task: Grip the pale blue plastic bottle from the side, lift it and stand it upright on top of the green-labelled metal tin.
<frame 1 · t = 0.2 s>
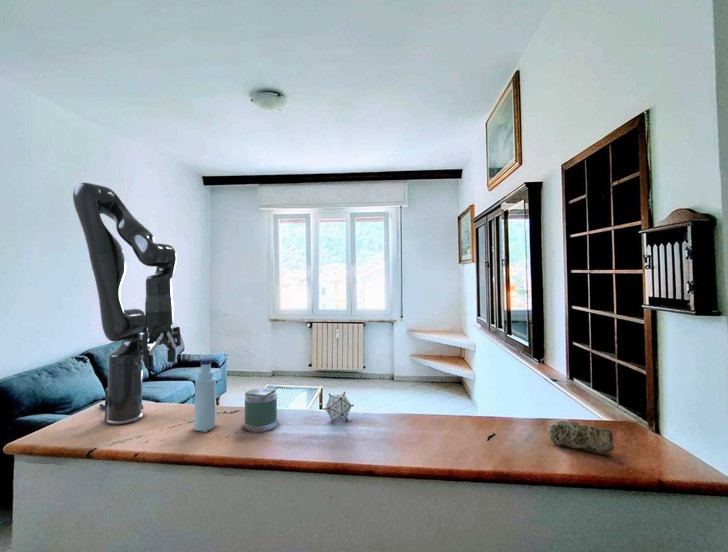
hand: (160, 365, 118), 17 cm above the worktop, tool pointing down, fingers open, 8 cm apart
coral: (581, 449, 101), on the worktop
game die: (338, 421, 121), on the worktop
tin: (260, 425, 117), on the worktop
bottle: (204, 428, 115), on the worktop
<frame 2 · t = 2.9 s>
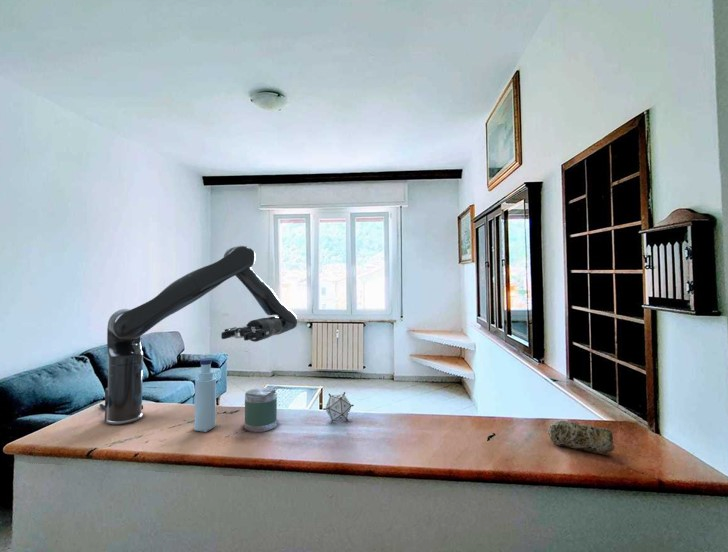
hand: (233, 336, 128), 24 cm above the worktop, tool horizontal, fingers open, 8 cm apart
nothing on the worktop moved.
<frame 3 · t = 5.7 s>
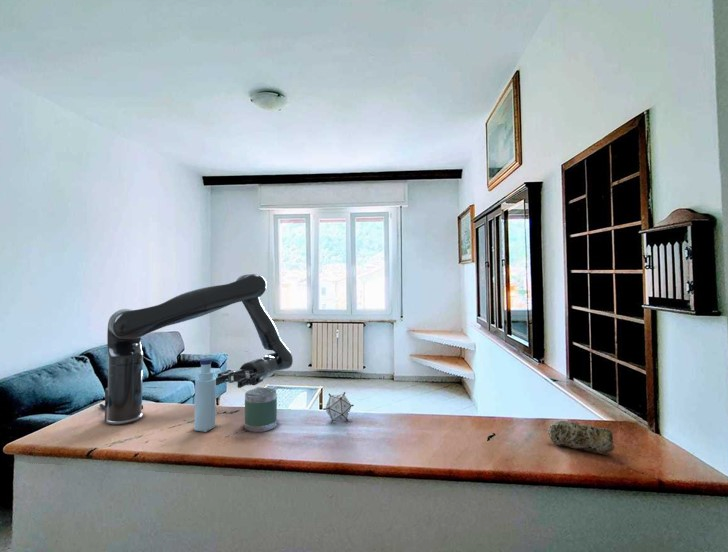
hand: (226, 383, 124), 10 cm above the worktop, tool horizontal, fingers open, 8 cm apart
nothing on the worktop moved.
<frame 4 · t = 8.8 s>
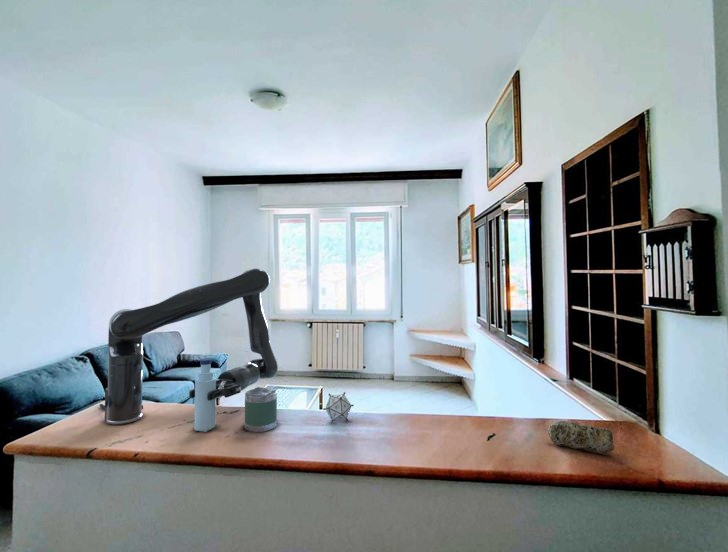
hand: (199, 395, 113), 10 cm above the worktop, tool horizontal, fingers closed on bottle, 5 cm apart
bottle: (204, 428, 115), on the worktop, touching gripper
everything else where it was.
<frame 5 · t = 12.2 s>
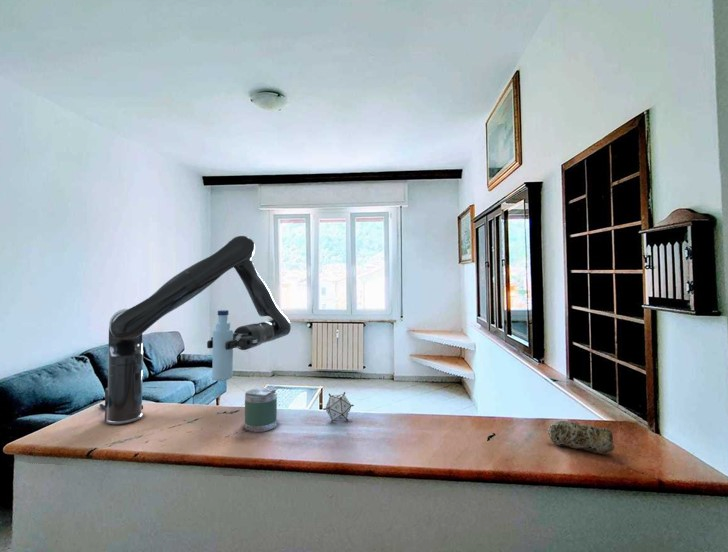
hand: (217, 345, 114), 24 cm above the worktop, tool horizontal, fingers closed on bottle, 5 cm apart
bottle: (222, 378, 116), point 14 cm above the worktop, touching gripper
everything else where it was.
when the fingers open (20 cm above the worktop, at t = 16.0 s): bottle stays where it is, resting on tin.
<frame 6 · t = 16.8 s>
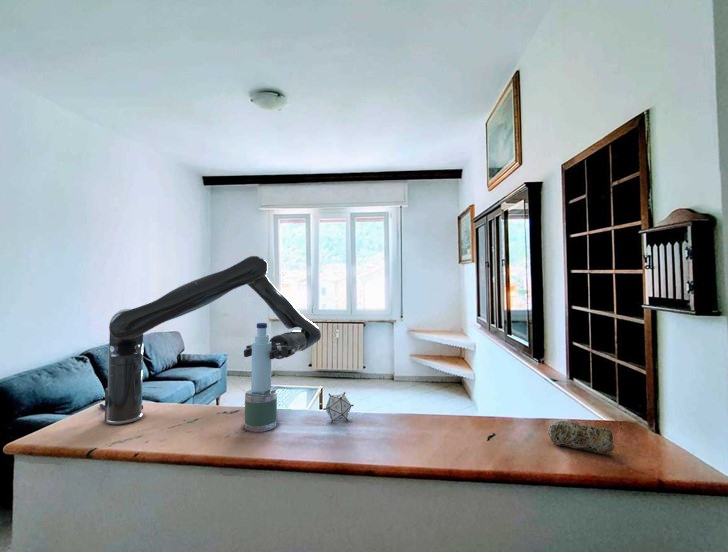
hand: (257, 354, 116), 21 cm above the worktop, tool horizontal, fingers open, 8 cm apart
bottle: (261, 390, 117), point 10 cm above the worktop, touching tin
everything else where it was.
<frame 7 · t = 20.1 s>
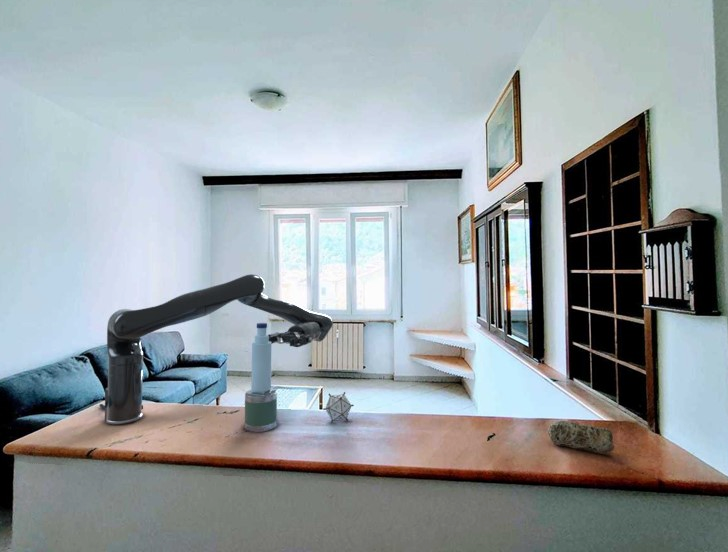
hand: (278, 342, 127), 23 cm above the worktop, tool horizontal, fingers open, 8 cm apart
nothing on the worktop moved.
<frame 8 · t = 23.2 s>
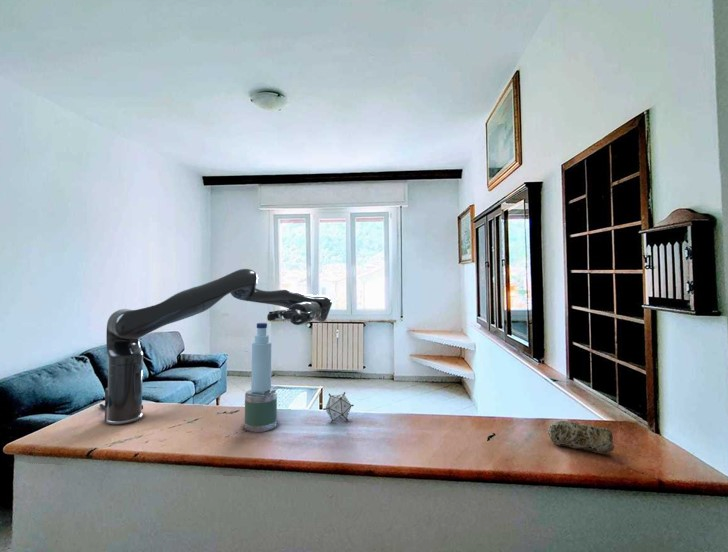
hand: (280, 318, 129), 30 cm above the worktop, tool horizontal, fingers open, 8 cm apart
nothing on the worktop moved.
at the end: bottle 0.1 cm off-centre on the tin, point 10.0 cm above the tin's base; bottle tilted 0°; the gripper is holding nothing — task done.
